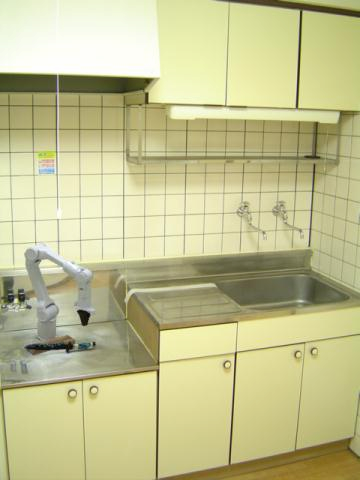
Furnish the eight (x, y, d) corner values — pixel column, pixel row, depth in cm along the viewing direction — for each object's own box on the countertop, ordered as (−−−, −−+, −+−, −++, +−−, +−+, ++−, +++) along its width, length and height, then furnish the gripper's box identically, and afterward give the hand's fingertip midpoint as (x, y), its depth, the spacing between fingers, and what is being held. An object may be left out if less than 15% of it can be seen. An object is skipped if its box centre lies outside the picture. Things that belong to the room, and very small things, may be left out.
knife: (94, 350, 240) (95, 340, 240) (95, 352, 237) (96, 342, 237) (23, 351, 231) (24, 341, 230) (23, 353, 228) (24, 343, 227)
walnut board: (26, 349, 236) (26, 344, 236) (67, 338, 249) (67, 334, 248) (33, 354, 231) (33, 350, 231) (75, 343, 244) (75, 339, 243)
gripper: (68, 293, 240) (68, 322, 243) (85, 302, 230) (85, 332, 233) (81, 291, 245) (82, 319, 248) (99, 299, 234) (99, 328, 237)
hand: (84, 325), depth 241 cm, fingers closed
